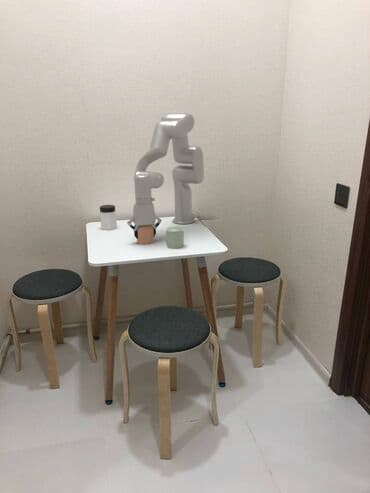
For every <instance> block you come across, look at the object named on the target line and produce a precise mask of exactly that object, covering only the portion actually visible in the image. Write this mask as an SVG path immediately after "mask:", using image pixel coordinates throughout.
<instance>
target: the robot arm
mask: <svg viewBox="0 0 370 493" xmlns="http://www.w3.org/2000/svg"><path fill="white" fill-rule="evenodd" d="M194 126H195V118H194V116H193V115H192V113H188V112H186V113H185V112H184V113H177V112H176V113H173V112H172V113H165V114H163V115H162V116H161V118H160V121H158V122H157V123H156V124H155V126H154V130H153V133H152V138H151V141H150V146H149V149H148V151H146V152H145V153H144V154H143V155H142V157H140V159H139V160H138V162H137V164H136V166H135V167H136V168H135V171H134V176H133V181H134V197H135V203H134V204H133V208H132V210H133V212H132V217H131V218H130V219H129V220H128V221H127V225H128V226H129V227H130V228H131V229H132V231H133V233H134V234H133V235H134V237H135V239H136V240H137V239H138V231H137V228H138V227H139V226H143V225H152V226H153V229H154V238H156V235H157V229H158V227H159V226H160V224H161V222H162V221H163V219H161V218H160V217H159V216H157V215H156V211H155V206H154V203H153V202H155V201H156V199H155V197H153V196H152V189H158V188H161V187H162V186H163V185H164V182H165V179H164V178H165V177H164V176H163V174H162V173H161V172H156V171H147V168H148V167H149V166H150V165H151V164H152V163H154V162H156V161H158V160H161V159H163V158H164V157H166V156H167V154H168V151H169V146H170V141H171V143H172V154H173V160H174V162H175V163H177V164H181V165H176V166H174V167H173V169H172V172H171V174H172V181H173V187H174V217H175V218H173V219H172V223H174V224H176V225H188V224H189V225H190V224H193V223H194V222H195V218H196V219H198V218H201V215H200V214H197V213H192V211H193V207H192V203H193V202H192V201H193V200H192V198H193V197H192V196H193V195H192V188H191V186H190V184H192V185H200V184H202V183H203V181H204V179H205V168H204V154H203V150H202V148H201V147H200V146H199V145H191V144H189V137H188V134H189V133H190V132H191V131H192V130H193V129H194ZM183 164H184V165H183ZM186 164H188V165H186ZM156 220H157V221H156ZM132 223H133V224H134V225H133V224H132Z"/></svg>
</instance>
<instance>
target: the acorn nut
mask: <svg viewBox="0 0 370 493" xmlns="http://www.w3.org/2000/svg"><path fill="white" fill-rule="evenodd" d="M184 240H185V237H184V229H183V228H182V227H179V226H169V227H167V228H166V230H165V245H166V248H170V249H181V248H183V247H184V246H185V241H184Z"/></svg>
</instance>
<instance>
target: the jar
mask: <svg viewBox="0 0 370 493" xmlns="http://www.w3.org/2000/svg"><path fill="white" fill-rule="evenodd" d="M99 214H100V226H101V230H103V231H104V230H105V231H111V230H115V229H118V224H117V212H116V206H115V205H113V204H103V205H100V206H99Z"/></svg>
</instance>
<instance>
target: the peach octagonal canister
mask: <svg viewBox="0 0 370 493" xmlns="http://www.w3.org/2000/svg"><path fill="white" fill-rule="evenodd" d="M137 231H138V239H136V242H137V245H144V246H145V245H152V244H153V243H155V237H154V229H153V226H152V225H143V226H139V227H138V228H137Z"/></svg>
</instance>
